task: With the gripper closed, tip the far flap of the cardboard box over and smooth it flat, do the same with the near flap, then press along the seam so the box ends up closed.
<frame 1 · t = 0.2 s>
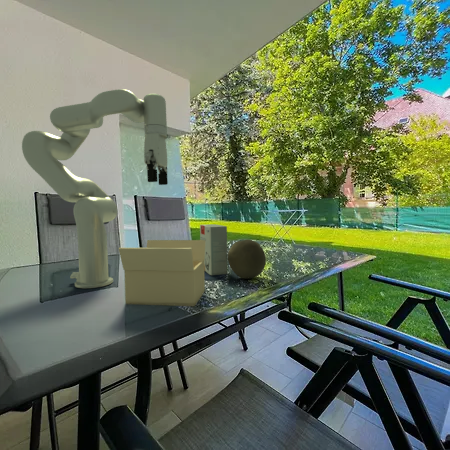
hand: (158, 183, 94), 36 cm above the table, tool pointing down, fingers open, 9 cm apart
cardboard box: (167, 297, 82), on the table
back flap: (175, 250, 90), point 13 cm above the table, hinge at 110.0°
hard drive box: (213, 271, 118), on the table
front flap: (156, 259, 73), point 13 cm above the table, hinge at 110.0°
cantaloupe: (246, 279, 103), on the table
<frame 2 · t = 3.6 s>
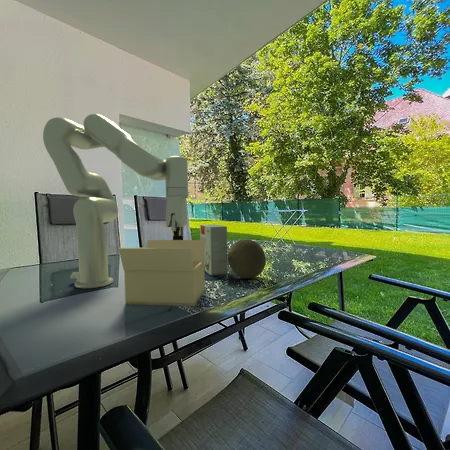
hand: (178, 247, 93), 14 cm above the table, tool pointing down, fingers closed
back flap: (175, 250, 90), point 13 cm above the table, hinge at 109.7°, touching gripper
everything else where it was.
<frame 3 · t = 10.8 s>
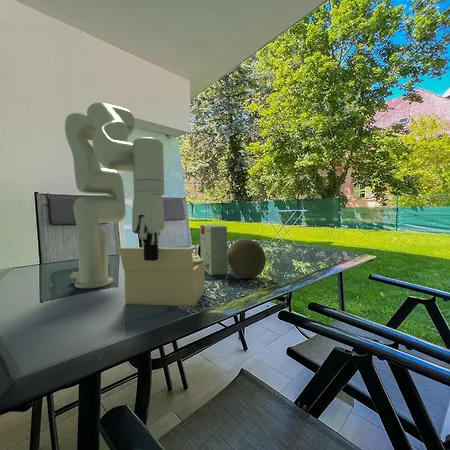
hand: (151, 259, 70), 14 cm above the table, tool pointing down, fingers closed
back flap: (170, 260, 85), point 11 cm above the table, hinge at 5.9°
front flap: (156, 259, 73), point 13 cm above the table, hinge at 109.7°, touching gripper
everything else where it was.
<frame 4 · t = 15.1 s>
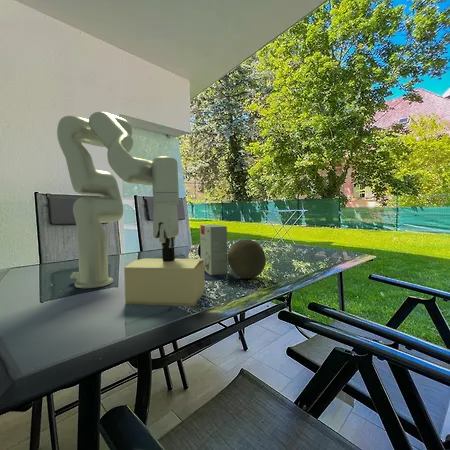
hand: (168, 260, 81), 11 cm above the table, tool pointing down, fingers closed
back flap: (170, 260, 85), point 11 cm above the table, hinge at 5.9°, touching gripper
front flap: (162, 264, 78), point 11 cm above the table, hinge at 6.4°, touching gripper
everything else where it was.
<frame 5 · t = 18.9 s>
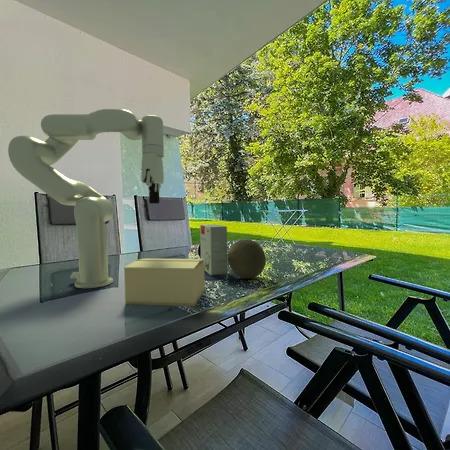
hand: (154, 203, 98), 29 cm above the table, tool pointing down, fingers closed
back flap: (170, 260, 85), point 11 cm above the table, hinge at 5.9°
front flap: (162, 265, 78), point 11 cm above the table, hinge at 4.6°
everything else where it was.
at the end: back flap at +6° (first picture: +110°); front flap at +5° (first picture: +110°) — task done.
